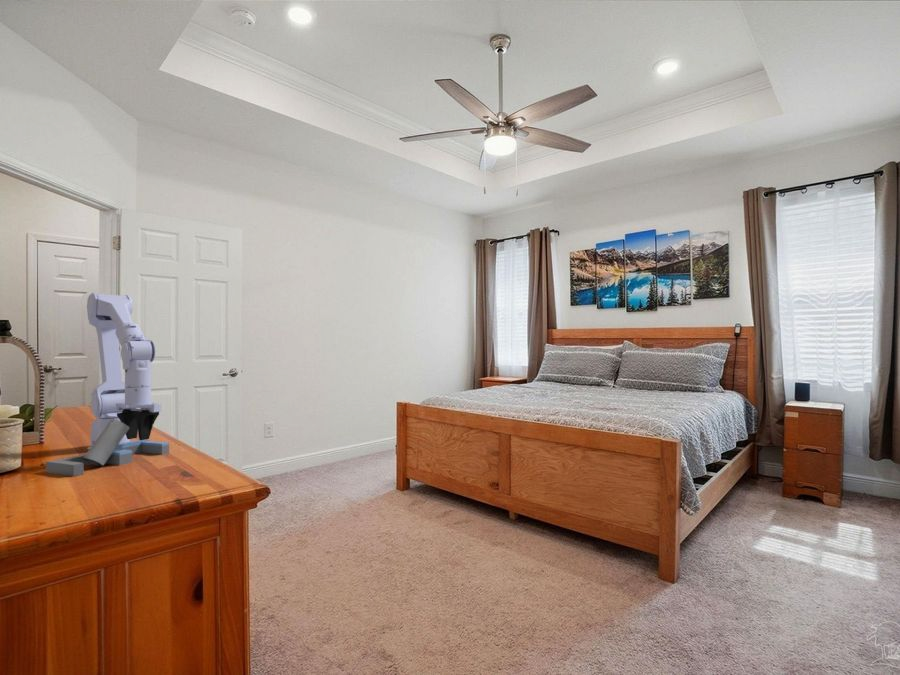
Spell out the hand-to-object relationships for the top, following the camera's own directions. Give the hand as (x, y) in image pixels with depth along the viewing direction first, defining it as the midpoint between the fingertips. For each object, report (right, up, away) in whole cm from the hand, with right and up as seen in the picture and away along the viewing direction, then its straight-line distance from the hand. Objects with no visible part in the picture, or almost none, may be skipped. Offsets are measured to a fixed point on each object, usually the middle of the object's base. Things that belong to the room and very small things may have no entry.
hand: (138, 439), depth 122 cm
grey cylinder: (-4, -4, -10) cm, 12 cm away
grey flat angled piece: (-3, -5, -5) cm, 8 cm away
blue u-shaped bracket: (-2, -2, 0) cm, 3 cm away
